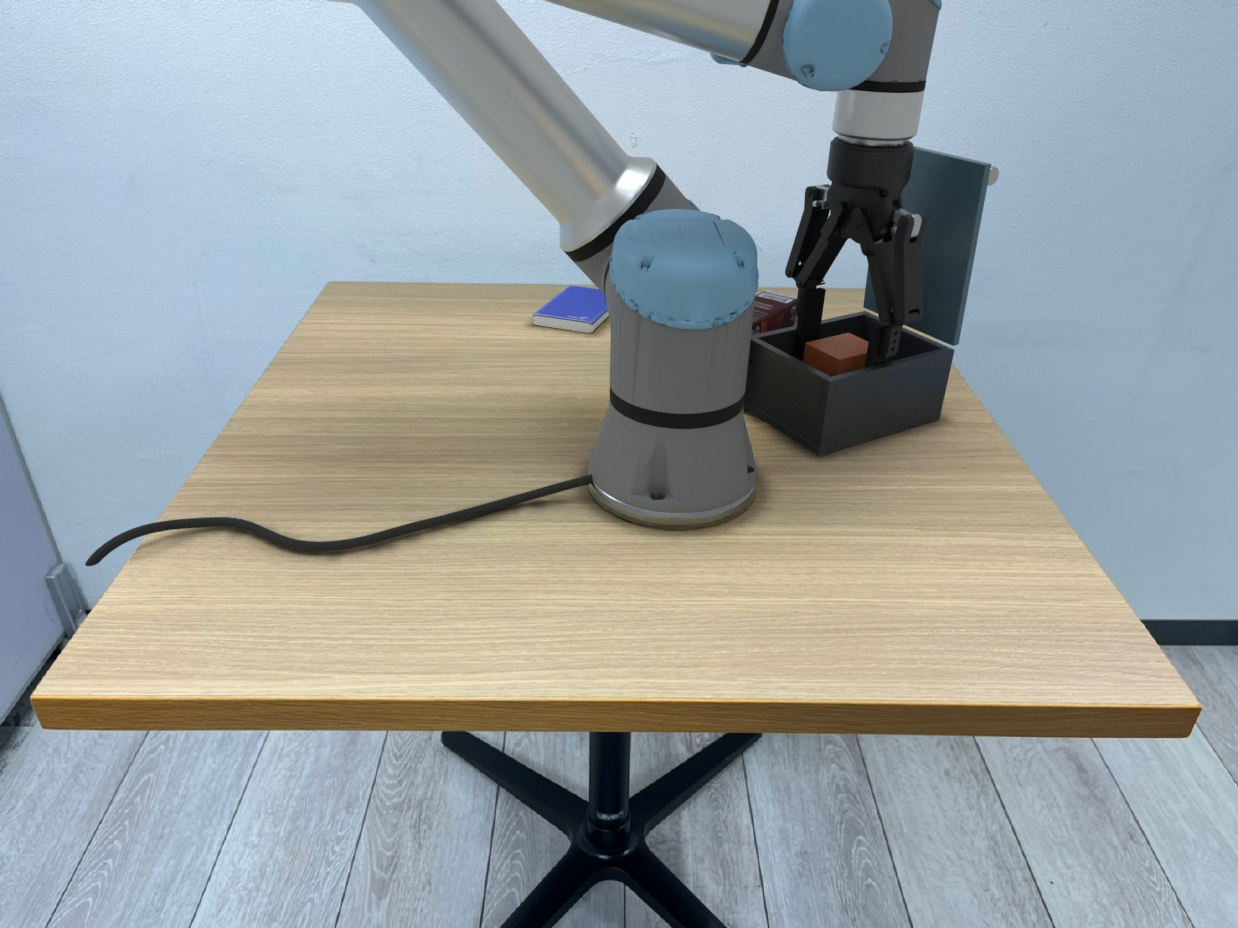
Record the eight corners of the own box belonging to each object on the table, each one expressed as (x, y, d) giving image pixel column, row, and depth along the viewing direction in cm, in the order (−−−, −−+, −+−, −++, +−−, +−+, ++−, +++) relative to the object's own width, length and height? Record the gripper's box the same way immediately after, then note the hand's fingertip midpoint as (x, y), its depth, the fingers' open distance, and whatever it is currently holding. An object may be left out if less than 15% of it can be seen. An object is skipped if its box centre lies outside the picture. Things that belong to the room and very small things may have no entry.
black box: (818, 456, 88) (830, 381, 84) (738, 405, 98) (745, 336, 94) (939, 419, 96) (955, 349, 92) (854, 375, 106) (865, 310, 102)
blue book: (592, 321, 114) (624, 292, 125) (532, 313, 116) (568, 284, 127) (592, 333, 115) (623, 303, 125) (532, 324, 117) (568, 295, 128)
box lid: (985, 165, 83) (1033, 155, 85) (882, 141, 92) (929, 132, 95) (953, 346, 92) (997, 331, 95) (862, 307, 101) (905, 295, 104)
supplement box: (795, 366, 107) (724, 413, 96) (759, 355, 110) (686, 400, 99) (804, 296, 103) (731, 337, 92) (766, 286, 106) (691, 326, 95)
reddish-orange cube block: (829, 423, 93) (839, 359, 89) (796, 404, 96) (805, 342, 93) (872, 410, 95) (883, 348, 92) (839, 393, 99) (848, 332, 96)
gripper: (1001, 156, 76) (947, 399, 87) (822, 117, 93) (796, 325, 104) (938, 164, 73) (891, 415, 84) (764, 121, 89) (743, 336, 100)
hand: (838, 365), depth 94 cm, fingers open, 9 cm apart
